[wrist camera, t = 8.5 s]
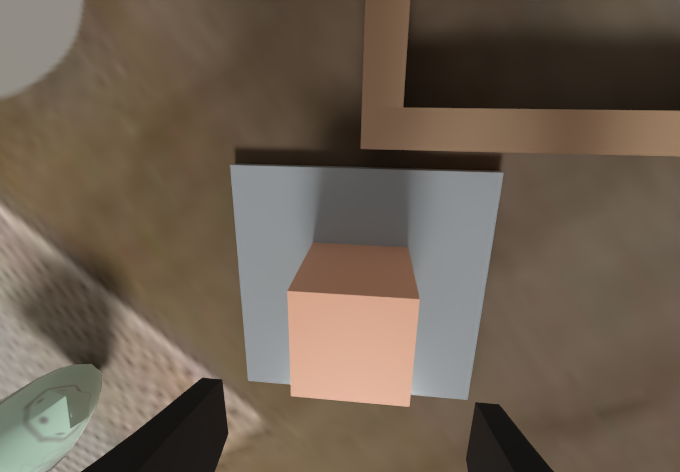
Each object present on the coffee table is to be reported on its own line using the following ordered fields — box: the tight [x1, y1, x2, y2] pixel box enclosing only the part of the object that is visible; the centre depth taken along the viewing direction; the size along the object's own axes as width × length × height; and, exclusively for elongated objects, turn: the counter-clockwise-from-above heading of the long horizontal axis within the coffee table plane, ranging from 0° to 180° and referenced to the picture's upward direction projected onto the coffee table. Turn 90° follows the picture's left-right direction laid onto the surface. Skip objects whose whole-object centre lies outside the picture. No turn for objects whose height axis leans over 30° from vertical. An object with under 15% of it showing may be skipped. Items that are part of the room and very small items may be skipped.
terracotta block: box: [287, 243, 420, 407], centre depth 15 cm, size 4×4×5 cm
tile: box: [230, 163, 504, 400], centre depth 18 cm, size 12×12×1 cm
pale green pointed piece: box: [0, 364, 102, 472], centre depth 19 cm, size 8×4×7 cm, turn 115°
